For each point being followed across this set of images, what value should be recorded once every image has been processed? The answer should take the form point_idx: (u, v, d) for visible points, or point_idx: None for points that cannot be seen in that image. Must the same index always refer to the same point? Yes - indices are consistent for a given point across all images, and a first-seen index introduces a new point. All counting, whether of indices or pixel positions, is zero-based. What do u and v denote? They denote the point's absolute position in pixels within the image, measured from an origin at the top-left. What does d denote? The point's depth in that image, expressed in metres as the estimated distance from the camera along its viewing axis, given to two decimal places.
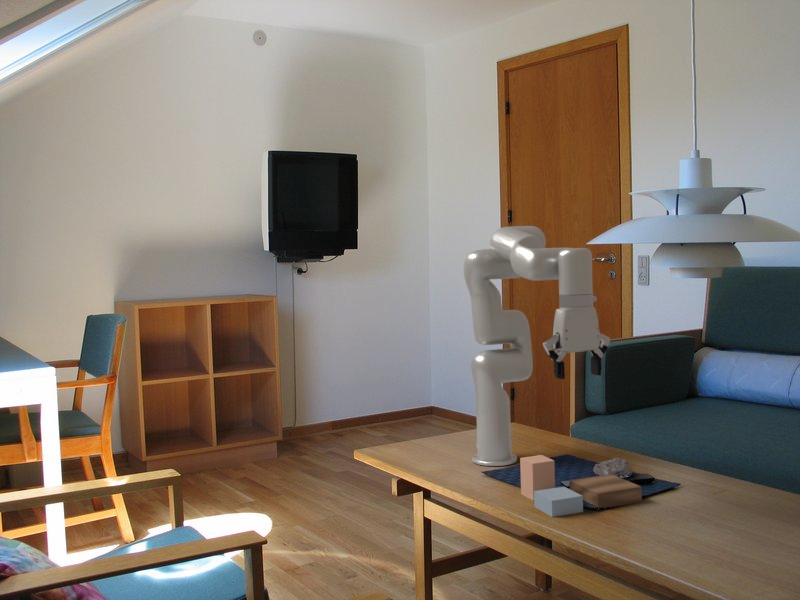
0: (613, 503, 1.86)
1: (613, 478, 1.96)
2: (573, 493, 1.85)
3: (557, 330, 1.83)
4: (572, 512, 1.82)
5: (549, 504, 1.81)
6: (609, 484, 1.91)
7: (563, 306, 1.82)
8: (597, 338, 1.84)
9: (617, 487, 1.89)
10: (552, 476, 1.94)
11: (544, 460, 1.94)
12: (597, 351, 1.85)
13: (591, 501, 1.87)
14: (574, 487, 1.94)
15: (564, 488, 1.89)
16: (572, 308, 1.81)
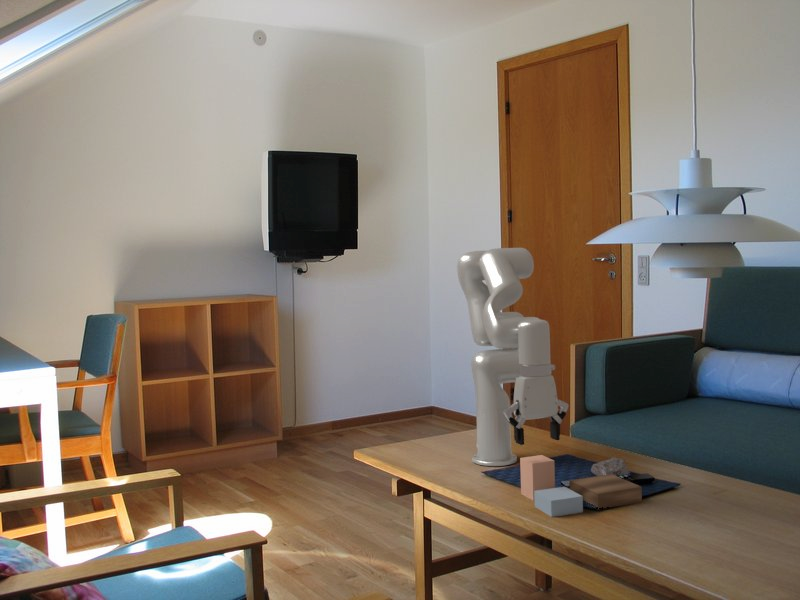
0: (613, 503, 1.86)
1: (613, 478, 1.96)
2: (573, 493, 1.85)
3: (517, 398, 1.93)
4: (572, 512, 1.82)
5: (548, 504, 1.81)
6: (609, 484, 1.91)
7: (522, 375, 1.92)
8: (555, 405, 1.94)
9: (617, 487, 1.89)
10: (552, 476, 1.94)
11: (544, 460, 1.94)
12: (555, 417, 1.95)
13: (591, 502, 1.87)
14: (574, 487, 1.94)
15: (565, 488, 1.89)
16: (530, 377, 1.91)
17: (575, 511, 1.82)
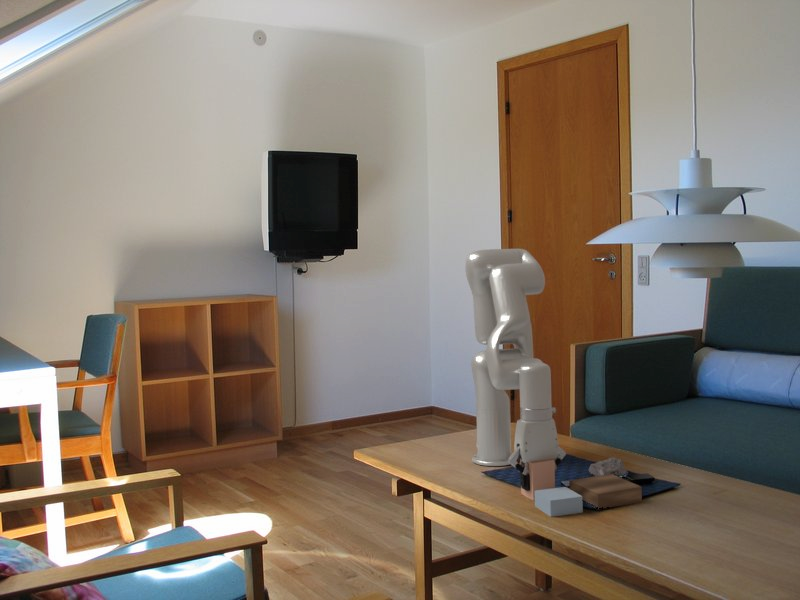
0: (613, 503, 1.86)
1: (613, 478, 1.96)
2: (573, 494, 1.84)
3: (518, 441, 1.94)
4: (571, 512, 1.82)
5: (548, 504, 1.82)
6: (609, 484, 1.91)
7: (523, 419, 1.93)
8: (556, 448, 1.95)
9: (617, 487, 1.89)
10: (552, 476, 1.94)
11: (544, 460, 1.94)
12: None
13: (591, 502, 1.87)
14: (574, 487, 1.94)
15: (565, 488, 1.89)
16: (531, 422, 1.92)
17: (575, 511, 1.82)
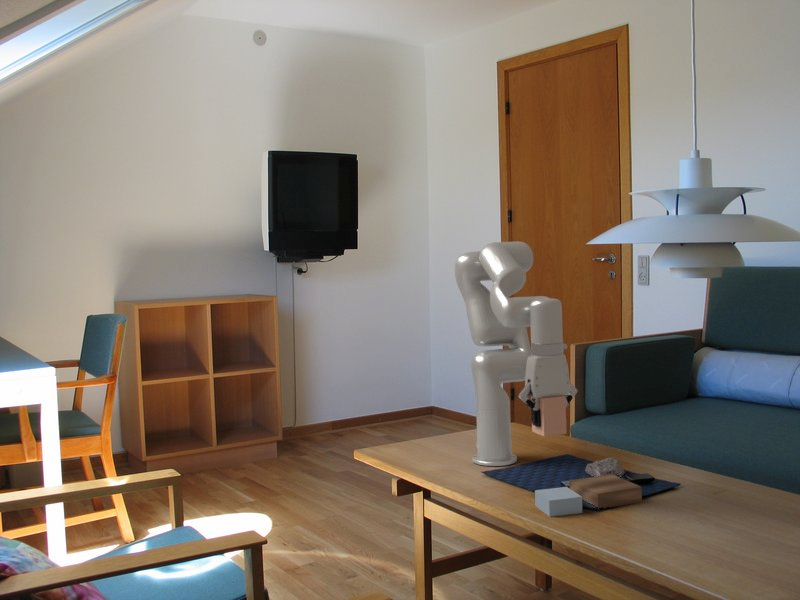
0: (613, 503, 1.86)
1: (613, 478, 1.96)
2: (573, 494, 1.84)
3: (528, 377, 1.92)
4: (571, 512, 1.82)
5: (547, 503, 1.82)
6: (609, 484, 1.91)
7: (534, 354, 1.91)
8: (567, 384, 1.93)
9: (617, 487, 1.89)
10: (563, 412, 1.92)
11: None
12: None
13: (591, 502, 1.87)
14: (574, 487, 1.94)
15: (566, 488, 1.89)
16: (542, 356, 1.90)
17: (574, 511, 1.82)
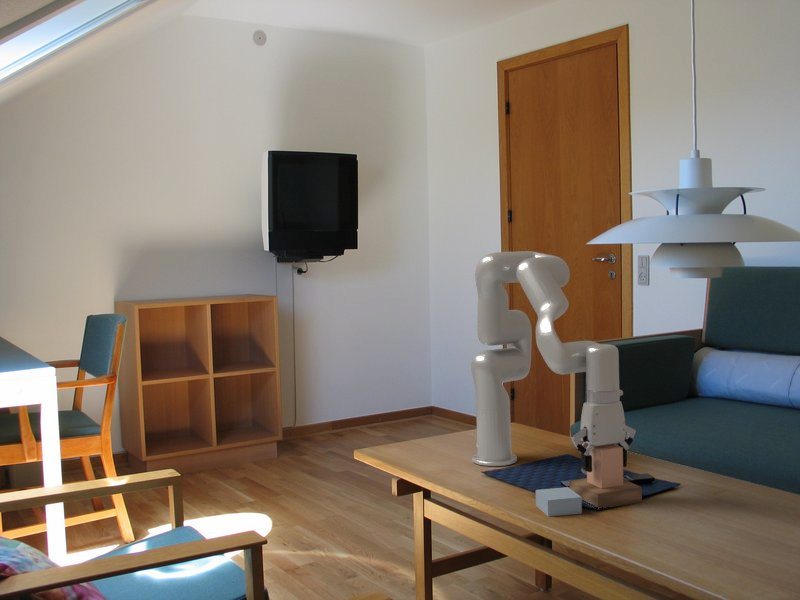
0: (613, 503, 1.86)
1: None
2: (573, 494, 1.84)
3: (585, 424, 1.89)
4: (570, 513, 1.82)
5: (546, 503, 1.82)
6: None
7: (591, 401, 1.89)
8: (623, 431, 1.91)
9: (617, 487, 1.89)
10: (620, 463, 1.90)
11: (612, 447, 1.90)
12: (623, 444, 1.92)
13: (591, 502, 1.87)
14: (574, 487, 1.94)
15: (567, 488, 1.88)
16: (599, 404, 1.87)
17: (573, 512, 1.82)
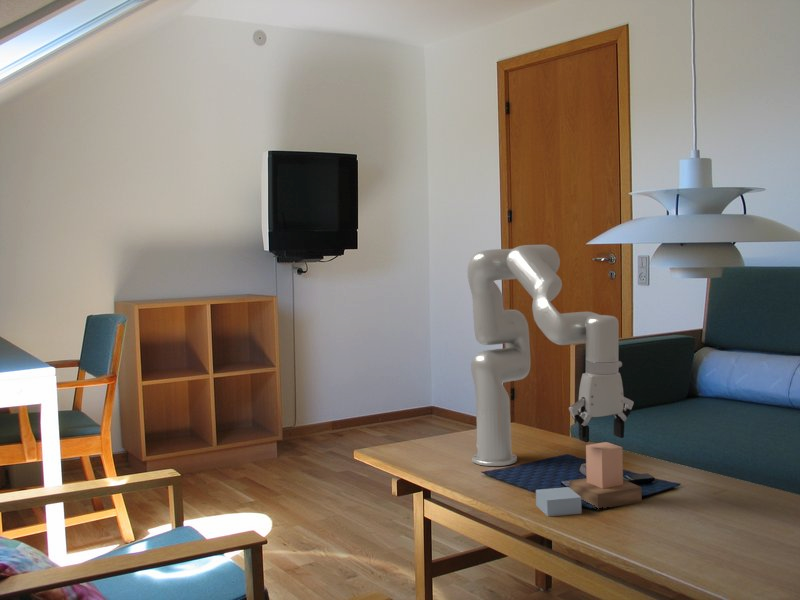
0: (613, 504, 1.86)
1: None
2: (573, 494, 1.84)
3: (583, 395, 1.89)
4: (569, 513, 1.82)
5: (545, 503, 1.82)
6: None
7: (589, 372, 1.89)
8: (621, 403, 1.91)
9: (617, 487, 1.89)
10: (620, 463, 1.90)
11: (611, 447, 1.90)
12: (621, 415, 1.92)
13: (591, 502, 1.87)
14: (574, 487, 1.94)
15: (567, 488, 1.88)
16: (598, 375, 1.87)
17: (573, 512, 1.82)
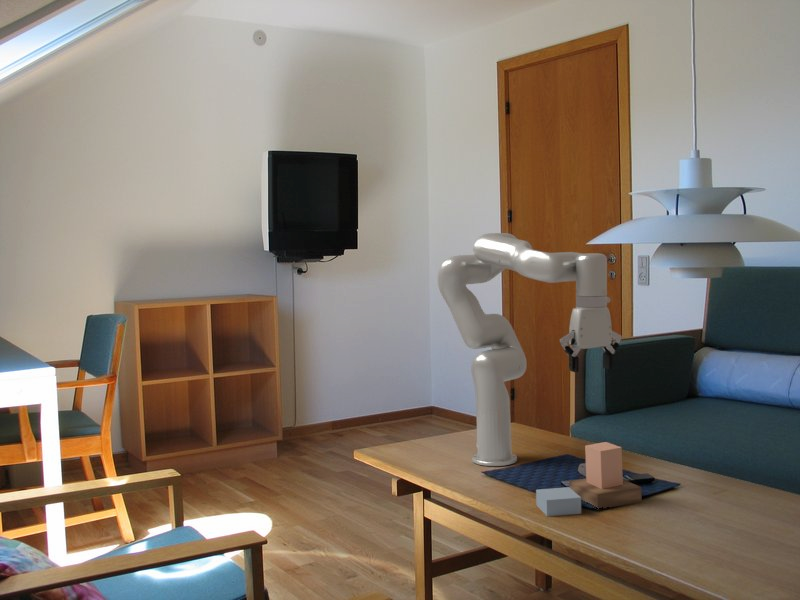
0: (613, 504, 1.86)
1: None
2: (573, 494, 1.84)
3: (573, 328, 2.01)
4: (569, 513, 1.82)
5: (545, 503, 1.82)
6: None
7: (579, 306, 2.00)
8: (609, 336, 2.02)
9: (616, 487, 1.89)
10: (619, 463, 1.90)
11: (611, 447, 1.90)
12: (609, 347, 2.03)
13: (591, 502, 1.87)
14: (574, 487, 1.94)
15: (568, 489, 1.88)
16: (587, 308, 1.99)
17: (573, 512, 1.82)
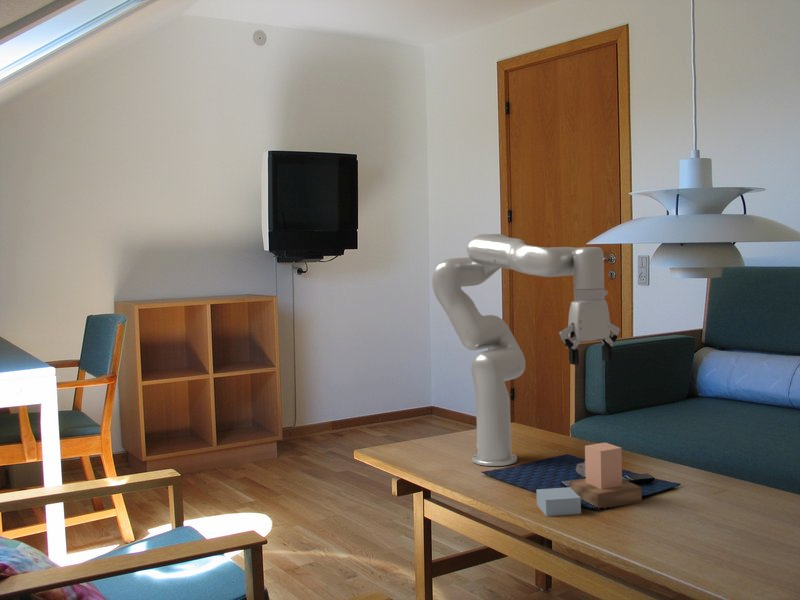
0: (613, 504, 1.86)
1: None
2: (573, 494, 1.84)
3: (572, 321, 2.03)
4: (569, 513, 1.82)
5: (544, 503, 1.82)
6: None
7: (577, 299, 2.03)
8: (608, 328, 2.04)
9: (617, 487, 1.89)
10: (619, 464, 1.90)
11: (610, 448, 1.90)
12: (608, 340, 2.05)
13: (591, 502, 1.87)
14: (574, 487, 1.94)
15: (568, 489, 1.88)
16: (586, 301, 2.01)
17: (572, 512, 1.82)
